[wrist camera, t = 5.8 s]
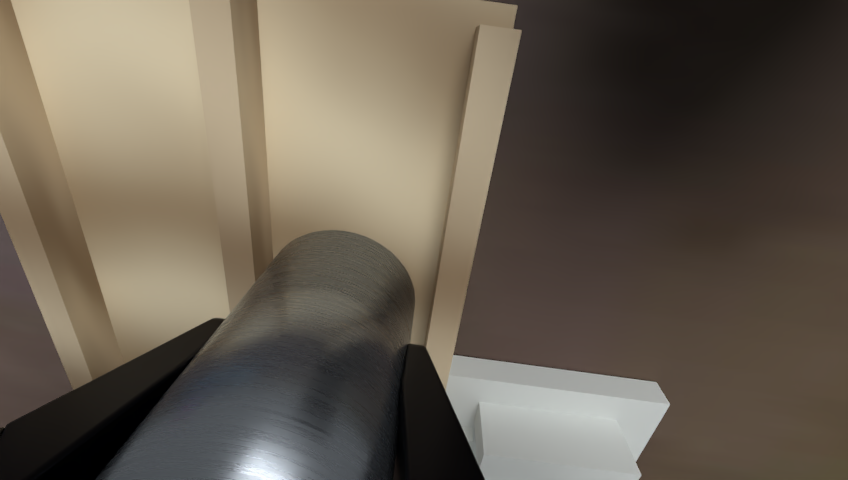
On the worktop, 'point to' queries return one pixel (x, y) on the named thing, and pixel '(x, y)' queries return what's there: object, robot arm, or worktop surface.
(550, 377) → the cradle
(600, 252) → the worktop surface
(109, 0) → the wooden tray
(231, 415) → the cell
